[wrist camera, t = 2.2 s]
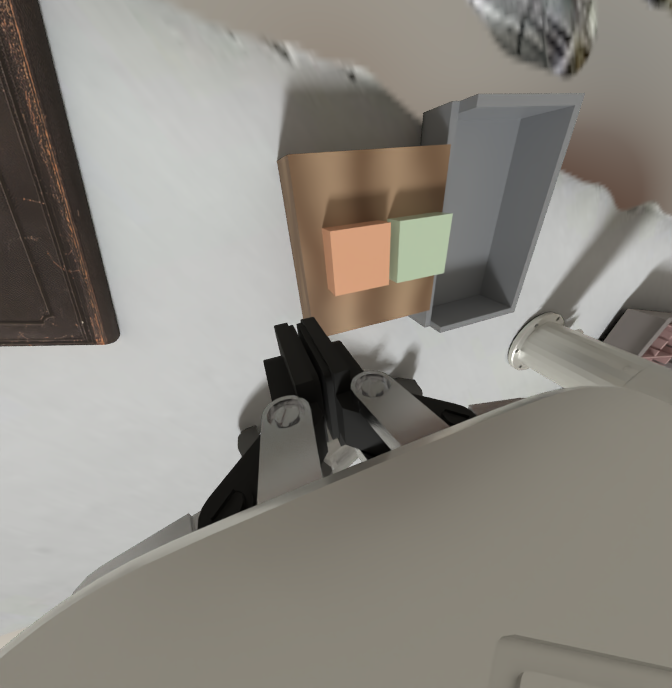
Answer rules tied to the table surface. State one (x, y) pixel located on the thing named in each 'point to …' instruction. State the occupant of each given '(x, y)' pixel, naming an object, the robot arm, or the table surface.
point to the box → (494, 197)
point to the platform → (356, 207)
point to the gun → (337, 454)
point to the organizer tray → (644, 335)
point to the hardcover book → (43, 203)
